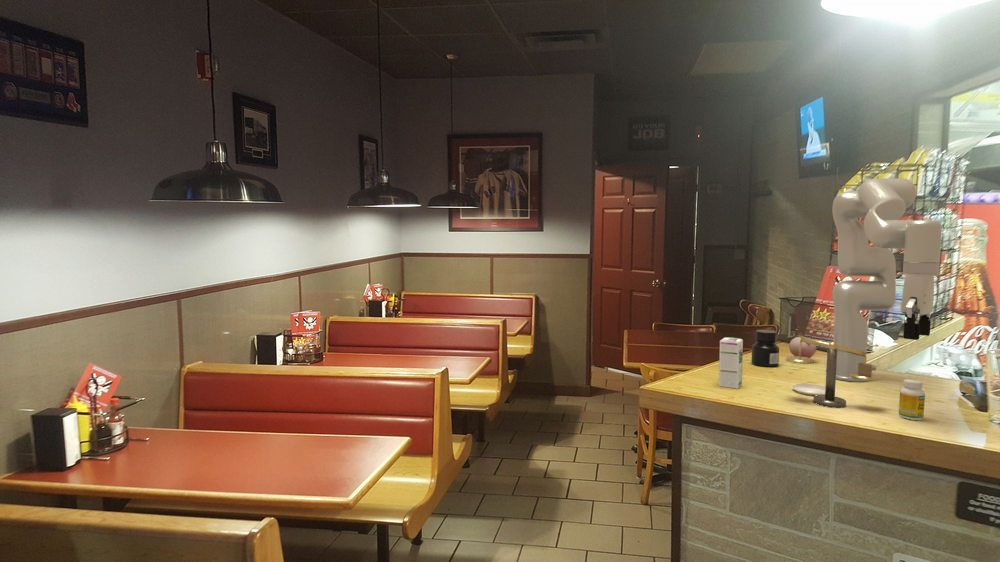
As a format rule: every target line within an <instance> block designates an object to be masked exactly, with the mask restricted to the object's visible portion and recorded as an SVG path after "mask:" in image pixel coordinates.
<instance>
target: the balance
mask: <svg viewBox="0 0 1000 562" xmlns="http://www.w3.org/2000/svg"><path fill="white" fill-rule="evenodd" d="M802 342H805V343H809V344H813V345H816V347H817V346H818V347H821V348H827V349H826V350H827V351H826V352H827V353H826V368H825V385H824V386H825V395H818V396H812V397H813V400H812V401H813V404H815V403H817V404H819V405H818V406H820V405H823V406H822V407H825V406H828V407H827V408H832V407H836V408H837V409H838V408H839V409H840V408H841V407H842V408H845V406H847V400H846V399H844V398H841V397H838V396H836V384H837V383H836V381H837V379H836V366H837V350H838V351H842V352H847V353H851V354H855V355H859V356H863V357H864V363H858V372H852V373H850V374H849V376H850V377H852V378H855V379H859V380H867V381H866V382H872V381H873V382H874V381H880V378H881V377H880V376H879V375H878V374H874V373H872V372H873V371H872V365H873V364H871V363H867V360H868V359H867V358H868V357H867V352H865V351H860V350H856V349H852V348H848V347H844V346H839V345H837V343H835V342H833V341H830V342H826V341H822V340H817V339H815V338H814V339H813V338H809V337H806V336H804V337H801V341H800V346H799V356H794V355H790V356H786V358H785V361H786V362H789V363H793V364H802V365H805V364H807V365H809V364H814V363H815V360H814V359H813V358H812V357H811V358H807V357H801V345H802ZM865 356H866V357H865ZM817 404H816V405H817ZM836 408H835V409H836Z"/></svg>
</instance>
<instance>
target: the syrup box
mask: <svg viewBox="0 0 1000 562" xmlns="http://www.w3.org/2000/svg"><path fill="white" fill-rule="evenodd" d="M743 345H744V340H743V339H742V338H738V337H723V338H722V339H721V340H719V356H718V357H719V363H718V364H719V365H718V366H719V368H718V386H719V387H721V388H729V389H737V390H738V389H739V388H740V387H741V386H742V383H743V357H744V355H743V353H744V352H743V350H744V348H743V347H744V346H743Z"/></svg>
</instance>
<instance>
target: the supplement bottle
mask: <svg viewBox="0 0 1000 562" xmlns="http://www.w3.org/2000/svg"><path fill="white" fill-rule="evenodd" d="M923 385H924V384H923V381H921V380H917V379H909V378H907V379H904V380H903V387H901V389H899V401H898V402H899V403H898V416H899V417H900V416H901V417H900V418H902V417H903V418H902V419H904V418H907V419H906V420H908V419H911V420H910V421H915V420H918V421H922V420H923V419H924V416H925V415H924V414H925V401H926V400H925V399H926V392H925V390H923V389H922V388H923Z"/></svg>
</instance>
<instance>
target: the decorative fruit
mask: <svg viewBox="0 0 1000 562" xmlns="http://www.w3.org/2000/svg"><path fill="white" fill-rule="evenodd" d="M801 337H805V334H804V333H803V334H802V335H797V336H796V337H794V338H793V339H791V340H790V342H789V345H788V349H789V352H790V354H792V356H799V346H800V341H801ZM816 352H817V345H813V344H809V343H805V342H802V345H801V357H807V358H811V359H812V358H813V356H814V355H815V353H816Z"/></svg>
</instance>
